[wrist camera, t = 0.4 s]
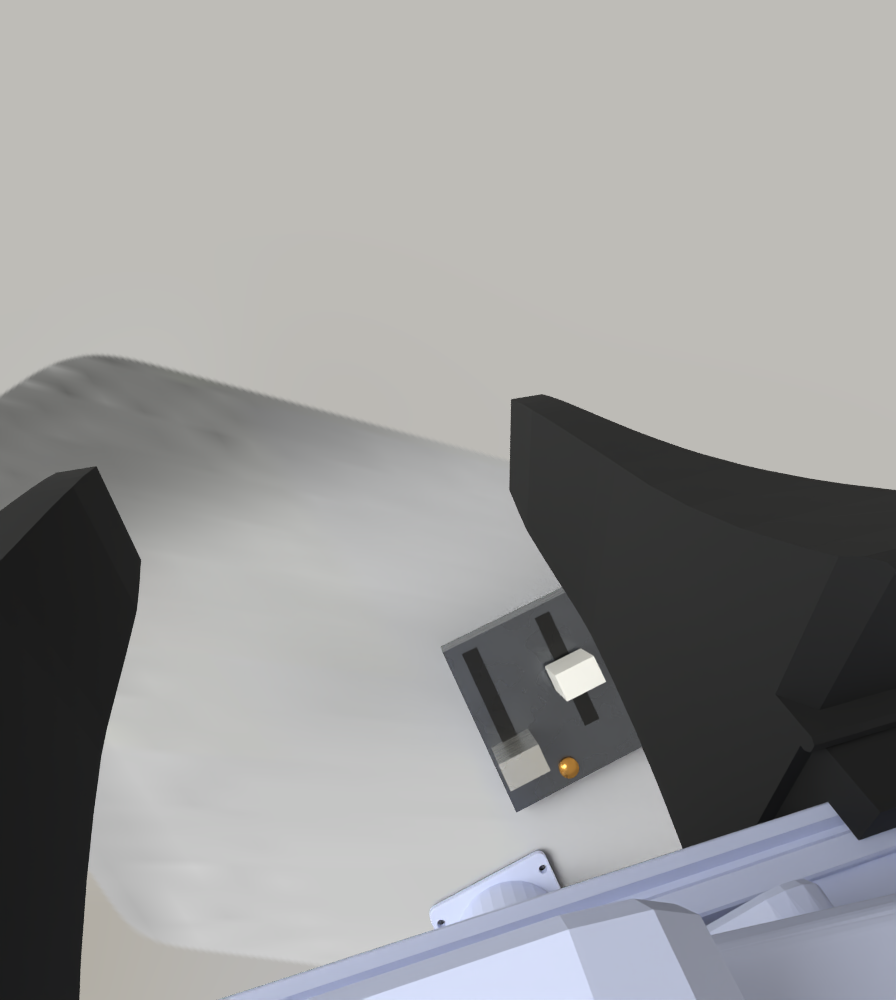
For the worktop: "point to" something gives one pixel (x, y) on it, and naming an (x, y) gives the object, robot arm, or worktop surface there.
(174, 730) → the worktop surface
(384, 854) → the worktop surface
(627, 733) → the panel
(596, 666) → the white slider knob
